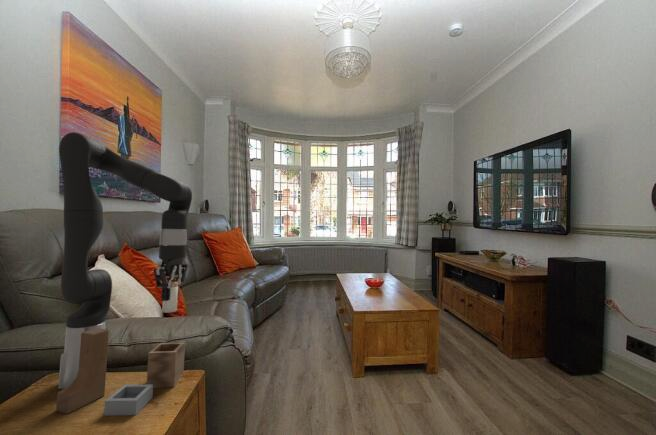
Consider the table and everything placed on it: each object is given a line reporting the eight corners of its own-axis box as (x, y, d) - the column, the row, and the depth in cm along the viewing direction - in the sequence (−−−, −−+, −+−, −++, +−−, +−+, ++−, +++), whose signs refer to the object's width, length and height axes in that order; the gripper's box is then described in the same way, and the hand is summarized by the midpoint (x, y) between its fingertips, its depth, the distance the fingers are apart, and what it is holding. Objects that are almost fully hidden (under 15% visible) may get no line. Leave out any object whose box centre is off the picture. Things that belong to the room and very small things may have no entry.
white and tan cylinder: (161, 313, 86) (163, 282, 87) (163, 309, 90) (164, 280, 90) (176, 312, 88) (177, 282, 88) (177, 308, 91) (179, 280, 92)
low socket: (103, 415, 71) (104, 400, 71) (123, 397, 78) (124, 384, 78) (135, 414, 71) (136, 400, 71) (152, 397, 79) (153, 384, 79)
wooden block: (67, 414, 71) (72, 340, 72) (55, 411, 72) (60, 338, 73) (105, 395, 79) (109, 329, 80) (93, 392, 80) (98, 327, 82)
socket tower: (146, 388, 83) (148, 353, 84) (158, 375, 91) (159, 343, 91) (174, 386, 84) (175, 352, 85) (183, 374, 92) (185, 342, 92)
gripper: (175, 242, 97) (172, 293, 96) (145, 244, 83) (142, 303, 82) (196, 243, 97) (194, 294, 96) (170, 244, 83) (167, 305, 82)
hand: (170, 298), depth 89 cm, fingers closed on white and tan cylinder, 4 cm apart
